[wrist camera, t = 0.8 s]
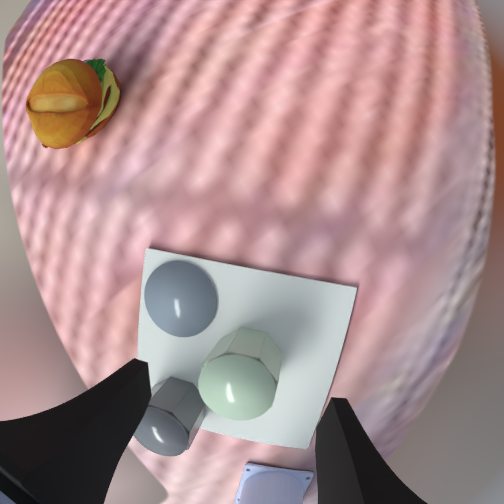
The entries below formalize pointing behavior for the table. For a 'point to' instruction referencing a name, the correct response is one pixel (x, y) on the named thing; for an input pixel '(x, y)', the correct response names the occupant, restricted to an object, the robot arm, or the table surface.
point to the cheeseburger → (72, 101)
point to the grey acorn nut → (171, 417)
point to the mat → (267, 320)
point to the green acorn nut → (241, 375)
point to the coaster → (180, 299)
